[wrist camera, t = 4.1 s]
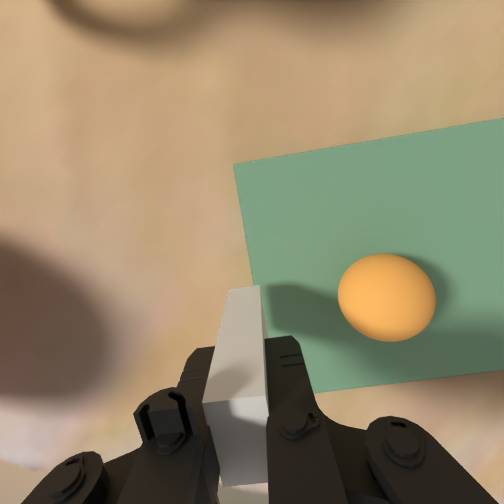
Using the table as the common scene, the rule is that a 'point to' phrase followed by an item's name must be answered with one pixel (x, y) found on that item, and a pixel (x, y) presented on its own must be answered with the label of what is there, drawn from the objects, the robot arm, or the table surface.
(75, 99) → the table surface
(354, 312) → the ball
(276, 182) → the putting mat
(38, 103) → the table surface
